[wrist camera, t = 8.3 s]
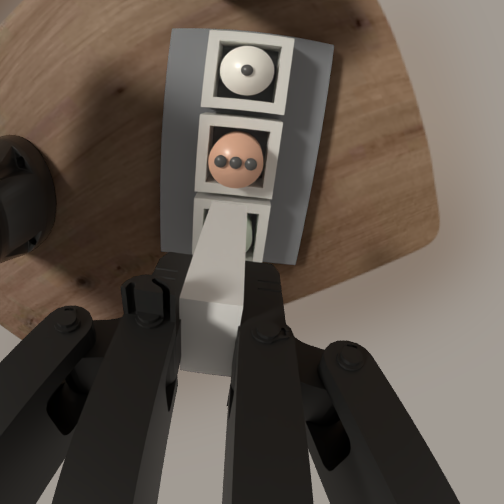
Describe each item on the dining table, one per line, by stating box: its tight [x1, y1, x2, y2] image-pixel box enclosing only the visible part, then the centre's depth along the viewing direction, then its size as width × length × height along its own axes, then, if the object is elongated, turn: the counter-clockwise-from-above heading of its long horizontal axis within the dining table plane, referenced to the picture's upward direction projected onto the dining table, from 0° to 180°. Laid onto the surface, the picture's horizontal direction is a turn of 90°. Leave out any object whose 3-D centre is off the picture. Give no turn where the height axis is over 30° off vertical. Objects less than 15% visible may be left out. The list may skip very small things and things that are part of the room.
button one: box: [220, 46, 274, 96], centre depth 21 cm, size 4×4×3 cm
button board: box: [160, 28, 334, 265], centre depth 25 cm, size 14×22×4 cm, turn 173°
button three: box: [208, 131, 263, 188], centre depth 23 cm, size 4×4×3 cm
